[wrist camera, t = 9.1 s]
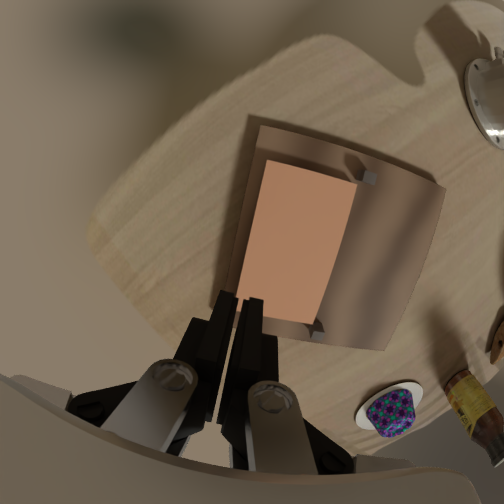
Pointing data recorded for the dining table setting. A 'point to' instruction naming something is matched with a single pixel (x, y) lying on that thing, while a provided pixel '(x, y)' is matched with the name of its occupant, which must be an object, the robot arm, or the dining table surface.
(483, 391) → the sauce bottle
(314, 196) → the tile
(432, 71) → the dining table surface
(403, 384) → the patterned brimmed hat
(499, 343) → the clay platform pipe
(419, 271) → the board
